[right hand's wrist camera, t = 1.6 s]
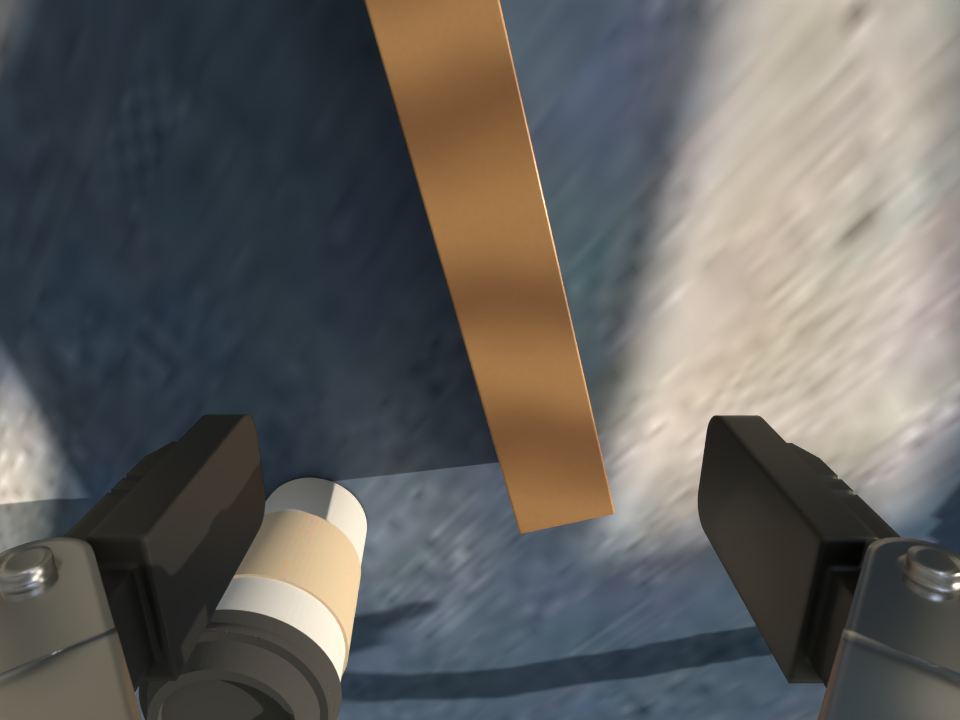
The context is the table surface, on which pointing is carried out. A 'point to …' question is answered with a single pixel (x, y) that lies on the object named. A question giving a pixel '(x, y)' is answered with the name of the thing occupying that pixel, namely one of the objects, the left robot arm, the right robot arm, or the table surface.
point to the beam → (495, 249)
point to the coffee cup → (278, 618)
